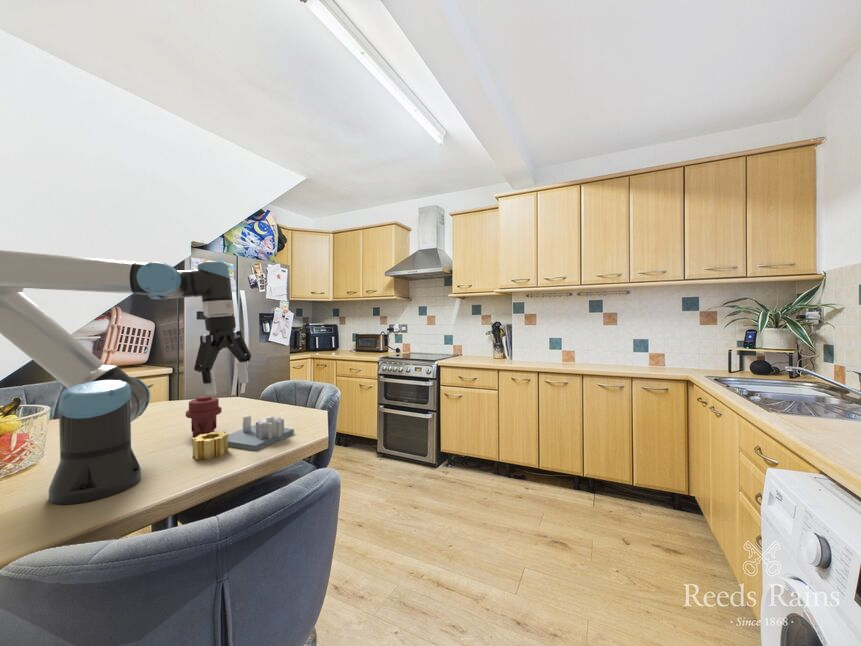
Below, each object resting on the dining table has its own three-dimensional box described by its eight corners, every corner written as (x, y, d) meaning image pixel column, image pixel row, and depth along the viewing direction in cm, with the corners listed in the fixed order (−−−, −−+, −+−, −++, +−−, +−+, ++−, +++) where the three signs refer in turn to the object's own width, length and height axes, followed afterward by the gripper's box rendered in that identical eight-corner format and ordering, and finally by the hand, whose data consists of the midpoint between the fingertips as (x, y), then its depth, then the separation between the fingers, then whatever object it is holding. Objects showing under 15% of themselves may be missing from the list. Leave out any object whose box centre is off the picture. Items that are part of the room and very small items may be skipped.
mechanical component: (201, 428, 122) (228, 429, 121) (178, 438, 112) (207, 439, 111) (201, 393, 122) (228, 394, 121) (177, 400, 112) (206, 400, 111)
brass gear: (207, 461, 94) (207, 443, 94) (185, 457, 97) (185, 439, 97) (235, 450, 102) (234, 433, 102) (213, 446, 105) (213, 430, 105)
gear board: (257, 451, 101) (257, 426, 101) (214, 444, 107) (214, 421, 107) (295, 433, 116) (295, 412, 116) (256, 428, 122) (256, 408, 122)
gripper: (197, 317, 89) (208, 399, 90) (258, 313, 113) (266, 378, 114) (170, 319, 90) (181, 401, 91) (237, 315, 114) (244, 379, 115)
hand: (228, 388), depth 103 cm, fingers open, 13 cm apart
